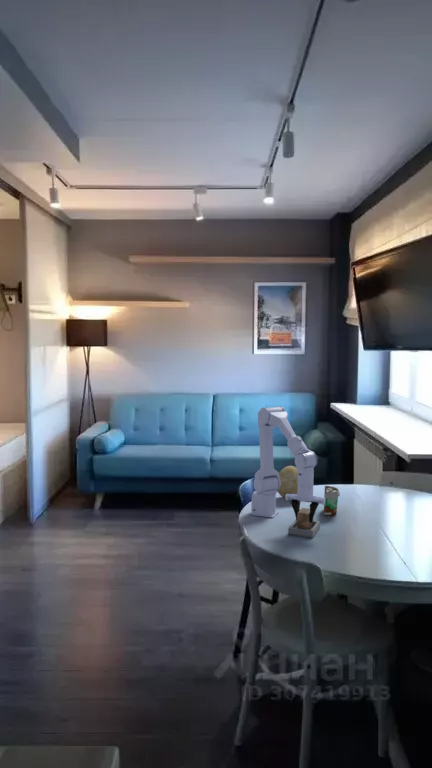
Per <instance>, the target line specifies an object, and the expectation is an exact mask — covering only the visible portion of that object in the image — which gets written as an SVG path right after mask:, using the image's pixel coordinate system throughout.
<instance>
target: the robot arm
mask: <svg viewBox="0 0 432 768" xmlns="http://www.w3.org/2000/svg"><path fill="white" fill-rule="evenodd" d="M257 423H258V434H259V435H258V436H259V457H260V460H259V461H260V462H259V464H260V466H259V467H260V468H259V469H258V470H257V472H255V473H254V480H253V488H254V490H255V491H253V492H252V495H251V504H250V505H251V509H250V510H251V511H250V515H251V516H257V517H265V518H272V519H273V518H275V517H276V516H277V515H278V514H279V511H278V510H276V500H277V497H276V496H277V493H278V491H277V490H279V488H280V485H281V483H280V479H279V473H280V472H279V471H277V470H276V469H275V468H274V467H275V466H274V441H273V440H274V437H273V431H274V429H275V428H276V427H278V429H279V431H280V432H281V433H282V434H283V436H284V437H285V439H286V440H287V448H289V450H290V452H291V453H292V455H293V457H294V458H295V459H294V464H295V467H296V468H297V473H298V490H297V494H286V495H285V498H284V500H285V501H291V502H290V505H291V507H292V509H293V512H294V515H295V520H296V521H297V513H298V512H299V511H300V509H301V507H300V506H301V502H303V503H309V509H310V523H312V522H313V521H314V517H315V514H316V511H317V509H318V507H319V505H323V506H324V504H325V498H324V497H321V496H316V495H314V478H315V477H314V476H315V475H314V474H315V473H314V472H315V470H314V468H315V467H316V466H317V465H318V456H317V454H316V453H315V452H314V451H312V450H311V449H308V447H307V445H306V444H305V442H304V441H303V439H302V437H301V436H299V435H296V433H295V431H294V430H293V428H292V425H291V424H290V422H289V420H288V412H287V410H286V408H285V407H284V406H271V407H262V408H260V409H259V411H258V412H257Z"/></svg>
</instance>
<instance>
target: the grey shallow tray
mask: <svg viewBox="0 0 432 768" xmlns="http://www.w3.org/2000/svg"><path fill="white" fill-rule="evenodd" d="M320 528H321V521H319V520H313V522H312V528H311V529H310V530H306V529H299V528H297V521H296V519H294V521H293V522H292V523H291V524H290V525H289V527H288V529H287V530H288V531H287V535H289V536H294V537H302V538H308V539H314V537H315V535H316V534H317V533H318V532H319V530H320Z"/></svg>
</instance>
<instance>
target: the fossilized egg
mask: <svg viewBox="0 0 432 768" xmlns="http://www.w3.org/2000/svg"><path fill="white" fill-rule="evenodd" d="M278 473H279V479H280V483H281V485H280V488H279V490H277V493H278V495H280V497H282V499H285V495H286V494H297V490H298V473H297V468H296V466H293V465H288V466H285V467H283V468H282V469H281V470H280V471H279V472H278Z"/></svg>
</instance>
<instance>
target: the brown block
mask: <svg viewBox="0 0 432 768" xmlns="http://www.w3.org/2000/svg"><path fill="white" fill-rule="evenodd" d="M297 528H299V529H306V530H310V529H311V528H312V523H310V508H306V507H300V511H299V512H298V513H297Z"/></svg>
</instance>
